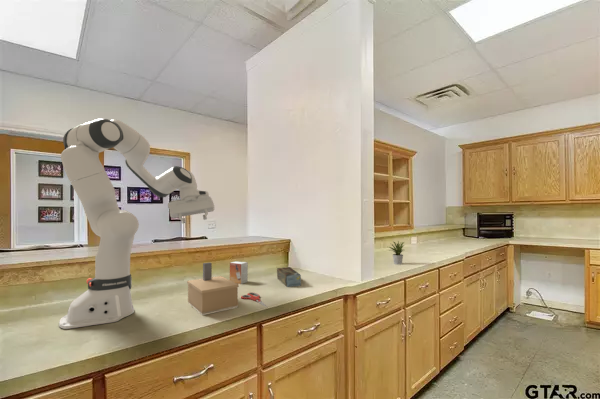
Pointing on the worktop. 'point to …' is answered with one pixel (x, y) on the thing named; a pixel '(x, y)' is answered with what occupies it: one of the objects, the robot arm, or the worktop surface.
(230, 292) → the carton
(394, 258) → the house plant
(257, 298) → the scissors
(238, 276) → the small box
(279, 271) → the beverage carton
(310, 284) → the worktop surface
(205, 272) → the carton lid
